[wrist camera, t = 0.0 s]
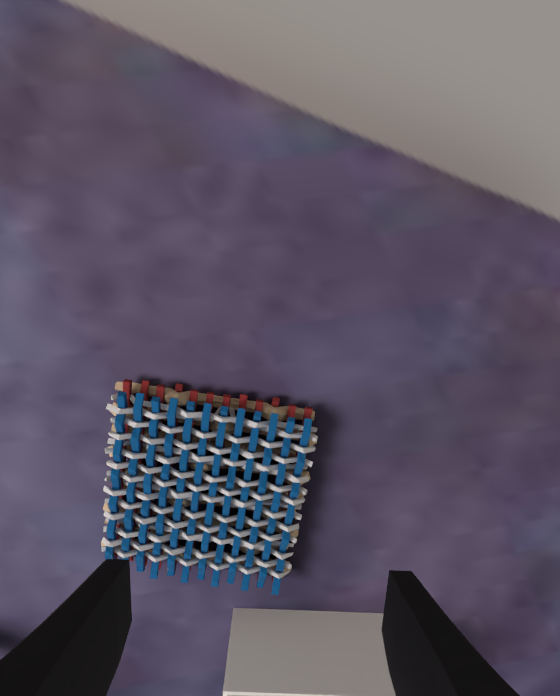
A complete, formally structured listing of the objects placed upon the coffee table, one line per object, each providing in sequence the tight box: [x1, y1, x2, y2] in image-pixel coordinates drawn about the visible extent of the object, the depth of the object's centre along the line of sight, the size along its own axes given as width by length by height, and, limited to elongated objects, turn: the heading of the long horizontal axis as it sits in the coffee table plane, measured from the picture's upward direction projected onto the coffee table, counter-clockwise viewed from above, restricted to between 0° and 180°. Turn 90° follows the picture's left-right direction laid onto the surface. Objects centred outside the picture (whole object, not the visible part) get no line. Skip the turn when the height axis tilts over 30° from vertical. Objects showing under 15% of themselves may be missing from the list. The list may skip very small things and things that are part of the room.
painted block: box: [223, 608, 396, 696], centre depth 23 cm, size 4×9×5 cm, turn 87°
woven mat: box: [101, 379, 318, 595], centre depth 22 cm, size 10×11×2 cm
